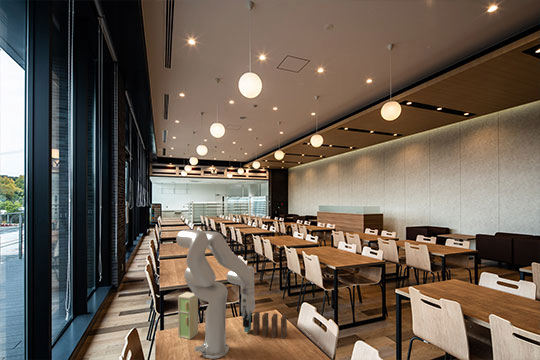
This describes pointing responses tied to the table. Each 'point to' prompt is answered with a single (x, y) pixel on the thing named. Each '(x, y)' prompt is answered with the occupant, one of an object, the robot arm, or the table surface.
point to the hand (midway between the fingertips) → (247, 324)
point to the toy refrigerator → (187, 315)
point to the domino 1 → (249, 323)
